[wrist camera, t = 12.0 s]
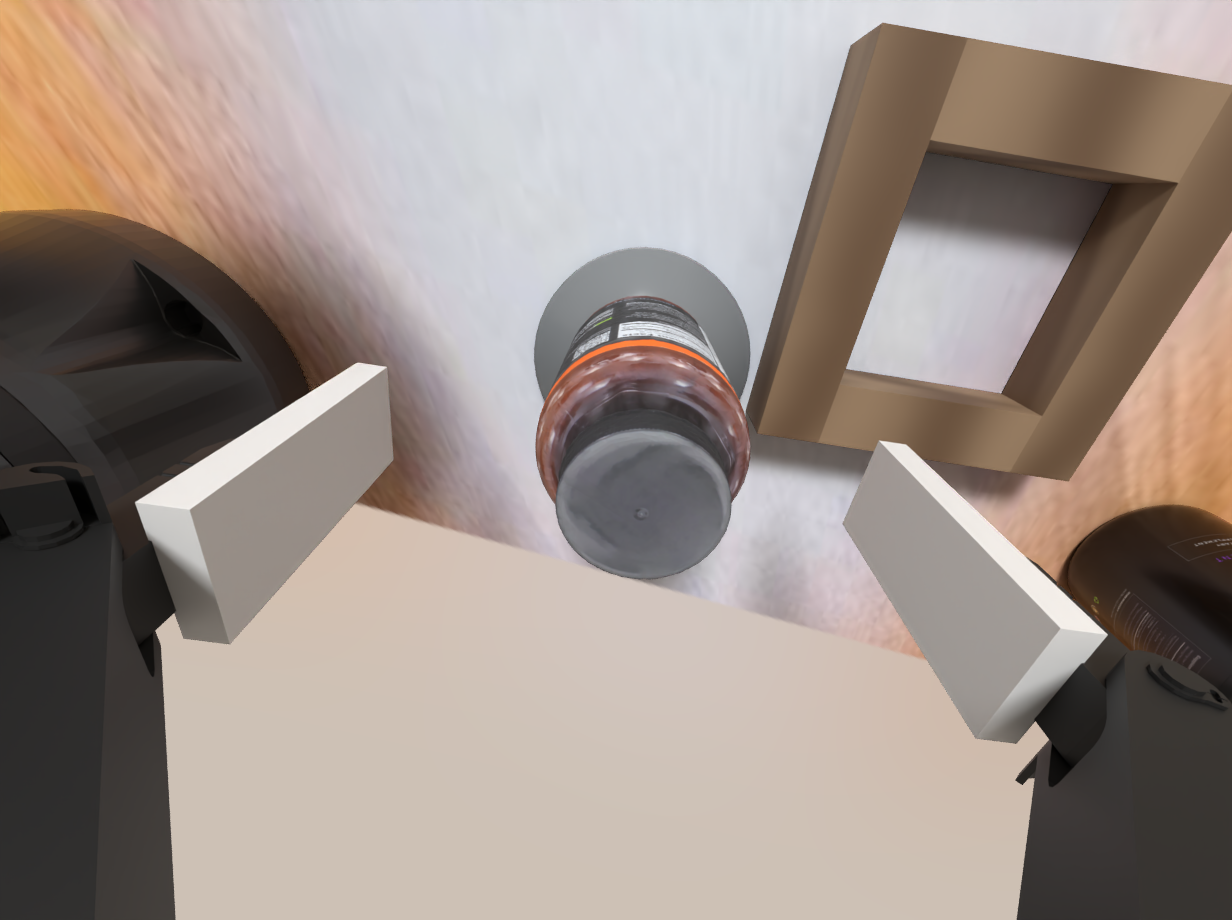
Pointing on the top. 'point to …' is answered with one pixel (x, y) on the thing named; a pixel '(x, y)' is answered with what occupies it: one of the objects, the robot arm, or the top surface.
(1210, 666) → the supplement bottle
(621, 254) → the slate coaster
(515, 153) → the top surface
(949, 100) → the frame
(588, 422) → the supplement bottle
